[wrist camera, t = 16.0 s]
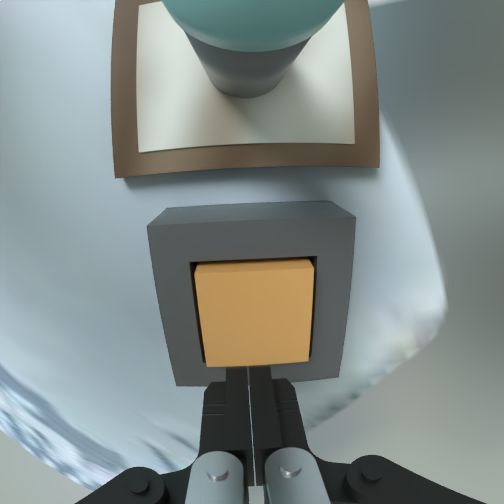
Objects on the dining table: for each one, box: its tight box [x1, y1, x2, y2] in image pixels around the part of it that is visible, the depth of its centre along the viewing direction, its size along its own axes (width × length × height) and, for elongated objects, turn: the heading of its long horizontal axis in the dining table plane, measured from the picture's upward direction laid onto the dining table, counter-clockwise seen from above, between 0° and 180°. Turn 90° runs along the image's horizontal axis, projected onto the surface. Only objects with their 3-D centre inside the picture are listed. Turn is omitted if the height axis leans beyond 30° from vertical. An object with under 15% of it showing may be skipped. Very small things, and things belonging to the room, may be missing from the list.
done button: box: [195, 256, 314, 367], centre depth 16 cm, size 5×5×4 cm
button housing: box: [147, 201, 356, 386], centre depth 16 cm, size 9×9×4 cm
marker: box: [161, 0, 345, 98], centre depth 8 cm, size 4×4×10 cm
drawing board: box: [111, 0, 380, 178], centre depth 14 cm, size 14×11×1 cm
